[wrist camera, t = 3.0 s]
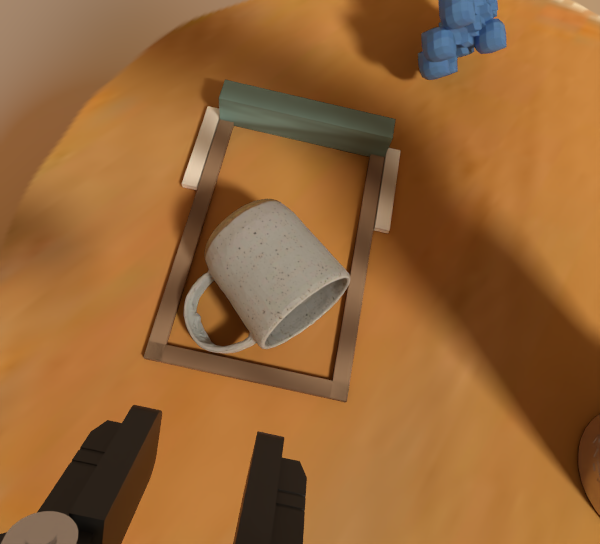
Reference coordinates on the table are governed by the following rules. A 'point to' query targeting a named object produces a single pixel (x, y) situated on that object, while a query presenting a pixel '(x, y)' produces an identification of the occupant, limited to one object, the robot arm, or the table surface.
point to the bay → (232, 112)
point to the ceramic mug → (267, 276)
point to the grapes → (460, 35)
